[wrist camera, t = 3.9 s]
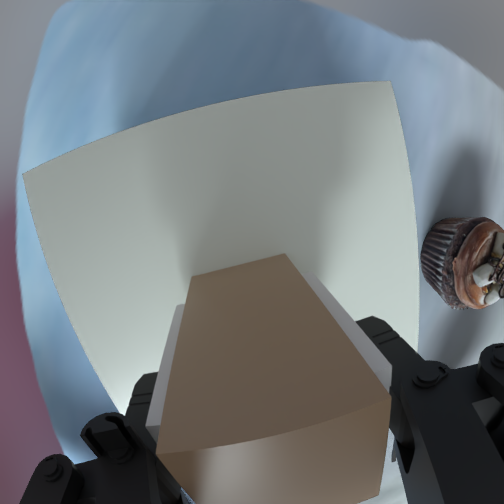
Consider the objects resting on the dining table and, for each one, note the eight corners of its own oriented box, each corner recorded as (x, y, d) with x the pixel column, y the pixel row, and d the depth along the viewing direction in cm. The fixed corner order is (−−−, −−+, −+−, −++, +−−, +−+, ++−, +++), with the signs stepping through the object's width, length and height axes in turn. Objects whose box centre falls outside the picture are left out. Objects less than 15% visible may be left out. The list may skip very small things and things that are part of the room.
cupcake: (398, 271, 29) (459, 311, 19) (441, 191, 27) (511, 206, 18) (446, 305, 31) (500, 344, 21) (483, 236, 29) (543, 259, 20)
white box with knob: (170, 345, 28) (130, 574, 7) (112, 169, 24) (-138, 202, 2) (342, 302, 29) (491, 482, 7) (309, 119, 24) (549, 27, 3)
